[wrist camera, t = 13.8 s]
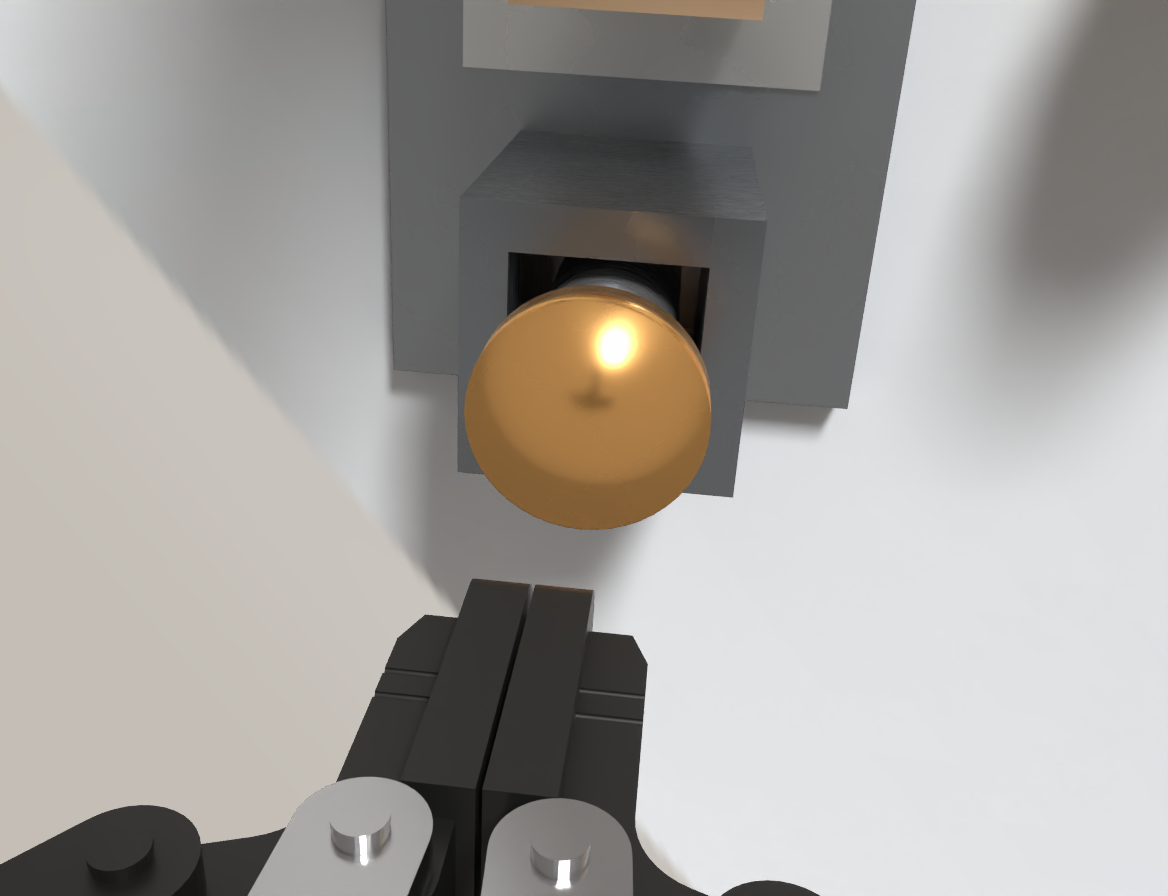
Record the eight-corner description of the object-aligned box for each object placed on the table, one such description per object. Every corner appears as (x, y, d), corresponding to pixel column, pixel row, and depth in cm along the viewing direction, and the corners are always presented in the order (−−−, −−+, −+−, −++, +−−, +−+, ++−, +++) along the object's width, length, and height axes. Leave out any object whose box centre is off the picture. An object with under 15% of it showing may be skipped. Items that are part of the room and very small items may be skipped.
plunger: (547, 166, 29) (464, 292, 19) (717, 179, 29) (723, 313, 19) (541, 327, 31) (463, 518, 21) (700, 340, 30) (698, 540, 21)
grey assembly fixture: (391, -380, 26) (240, -527, 17) (966, -356, 25) (1098, -499, 16) (403, 355, 33) (303, 497, 25) (842, 392, 32) (889, 553, 24)
